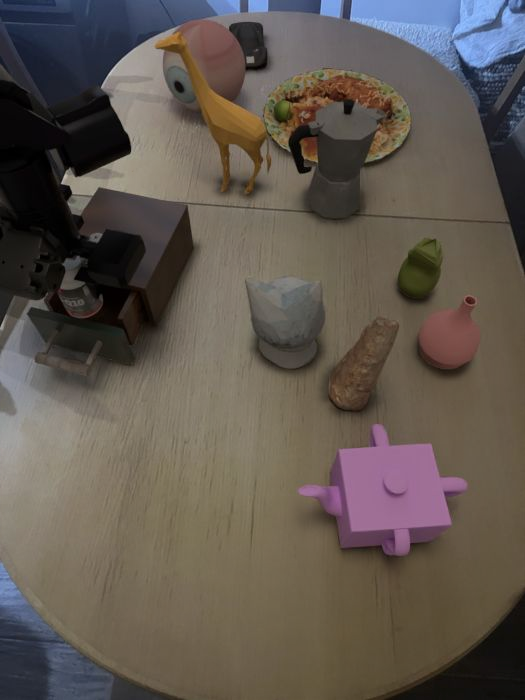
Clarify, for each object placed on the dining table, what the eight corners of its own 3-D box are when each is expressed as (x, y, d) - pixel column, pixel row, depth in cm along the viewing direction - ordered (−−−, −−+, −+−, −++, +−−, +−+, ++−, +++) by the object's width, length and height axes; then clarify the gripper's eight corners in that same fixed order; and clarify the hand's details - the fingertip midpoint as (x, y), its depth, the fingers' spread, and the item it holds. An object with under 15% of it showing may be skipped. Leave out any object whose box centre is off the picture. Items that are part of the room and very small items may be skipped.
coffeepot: (356, 174, 90) (376, 73, 75) (381, 210, 86) (407, 110, 70) (274, 195, 88) (277, 94, 72) (295, 233, 83) (303, 134, 68)
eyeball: (153, 114, 99) (138, 32, 86) (196, 76, 106) (188, -6, 93) (220, 139, 95) (214, 57, 82) (260, 97, 102) (260, 16, 89)
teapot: (299, 573, 56) (306, 555, 47) (287, 451, 63) (291, 417, 55) (461, 561, 57) (497, 541, 48) (431, 442, 64) (457, 407, 56)
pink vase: (401, 339, 72) (425, 285, 62) (448, 323, 74) (479, 268, 63) (430, 385, 68) (460, 335, 58) (479, 367, 70) (517, 316, 60)
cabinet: (156, 327, 73) (145, 288, 66) (67, 306, 75) (46, 266, 67) (194, 247, 81) (187, 205, 74) (113, 230, 83) (98, 186, 75)
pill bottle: (58, 313, 65) (34, 268, 58) (77, 285, 67) (56, 239, 60) (92, 323, 64) (72, 279, 57) (110, 295, 66) (93, 249, 59)
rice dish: (368, 195, 89) (375, 169, 84) (234, 135, 96) (234, 109, 91) (429, 112, 102) (438, 85, 97) (307, 64, 108) (310, 37, 103)
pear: (437, 287, 77) (459, 240, 69) (421, 311, 75) (442, 265, 66) (403, 271, 79) (420, 223, 70) (387, 293, 76) (403, 246, 68)
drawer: (116, 397, 66) (102, 370, 60) (27, 373, 68) (6, 345, 62) (170, 282, 76) (163, 250, 70) (92, 265, 78) (78, 232, 72)
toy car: (232, 71, 107) (232, 50, 103) (228, 33, 115) (227, 12, 111) (268, 70, 107) (268, 48, 104) (261, 32, 115) (261, 11, 111)
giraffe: (173, 188, 88) (146, 35, 67) (181, 171, 91) (157, 18, 69) (268, 201, 87) (270, 49, 65) (272, 184, 89) (277, 31, 68)
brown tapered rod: (341, 420, 66) (379, 400, 68) (387, 365, 50) (435, 341, 52) (316, 380, 68) (353, 361, 70) (352, 314, 52) (399, 292, 54)
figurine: (328, 328, 73) (343, 256, 60) (307, 380, 69) (318, 314, 56) (264, 307, 75) (265, 233, 62) (239, 356, 71) (235, 287, 58)
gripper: (-105, 232, 47) (-24, 327, 61) (81, 274, 45) (122, 364, 58) (-37, 155, 53) (23, 258, 66) (132, 188, 50) (159, 288, 64)
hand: (79, 291), depth 63 cm, fingers closed on pill bottle, 5 cm apart
